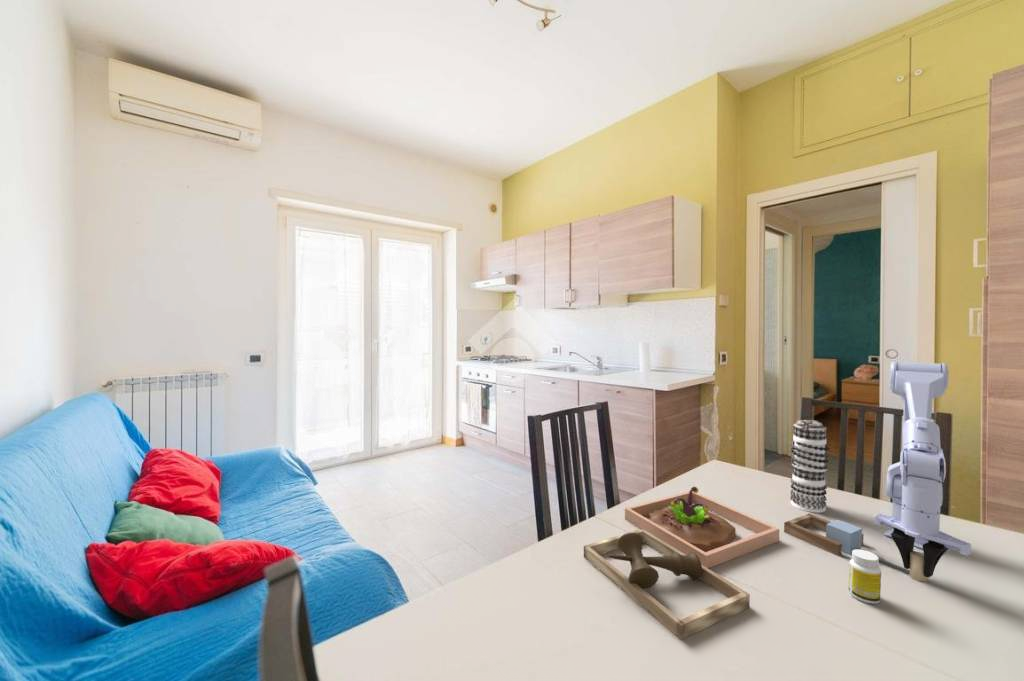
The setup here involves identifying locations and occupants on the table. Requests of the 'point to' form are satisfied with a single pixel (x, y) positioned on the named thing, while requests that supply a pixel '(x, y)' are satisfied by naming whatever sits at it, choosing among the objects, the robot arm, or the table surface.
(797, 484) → the decorative candle
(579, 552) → the table surface
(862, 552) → the supplement bottle
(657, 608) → the beech serving tray
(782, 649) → the table surface
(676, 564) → the kendama
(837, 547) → the walnut lane
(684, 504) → the plant
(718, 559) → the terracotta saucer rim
